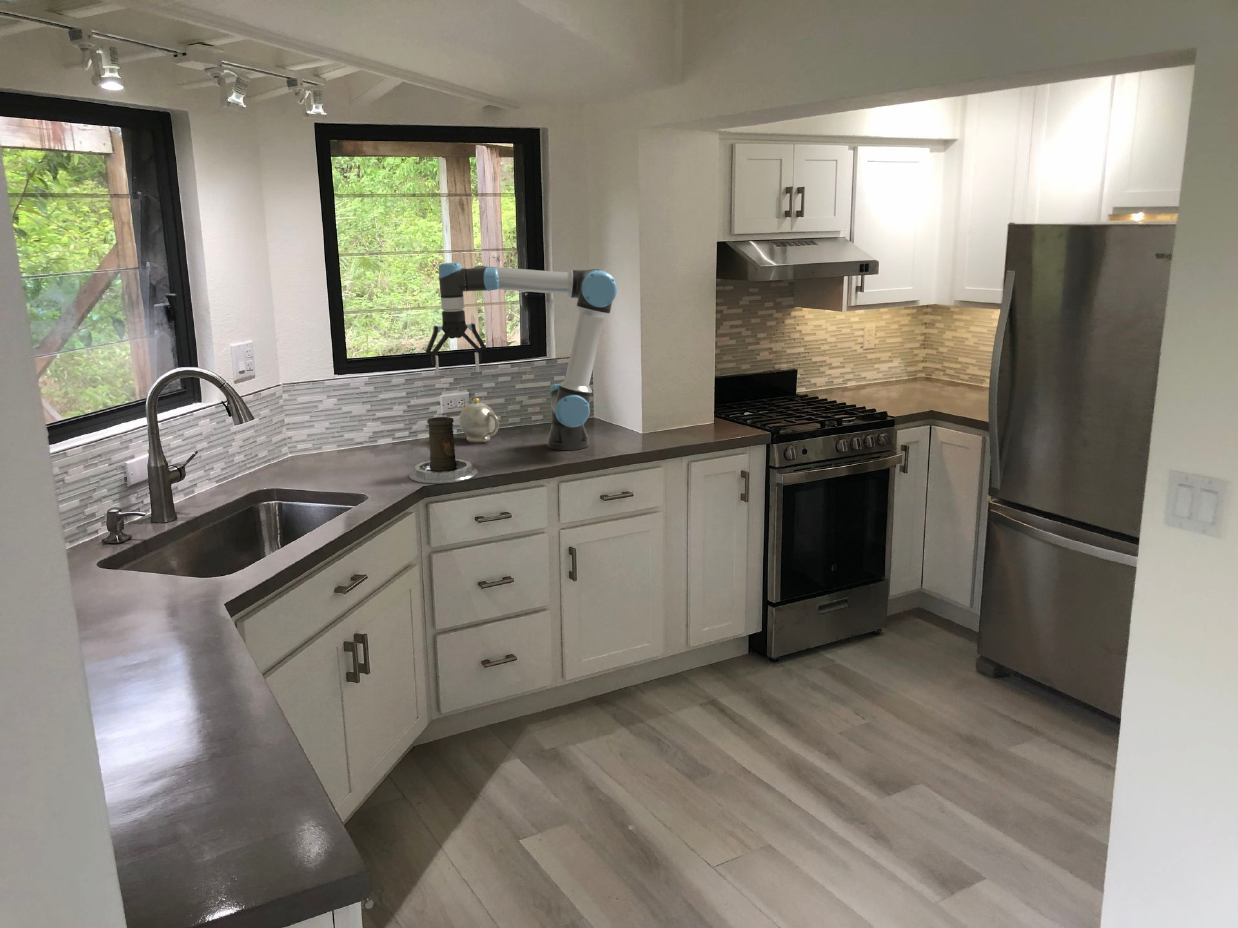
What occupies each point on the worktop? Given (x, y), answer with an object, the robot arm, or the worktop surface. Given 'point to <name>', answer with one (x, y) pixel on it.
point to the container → (441, 444)
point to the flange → (443, 473)
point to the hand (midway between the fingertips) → (457, 373)
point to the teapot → (478, 422)
